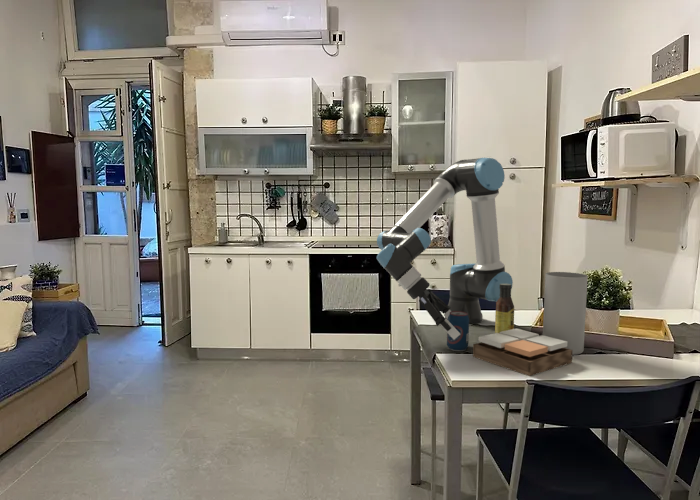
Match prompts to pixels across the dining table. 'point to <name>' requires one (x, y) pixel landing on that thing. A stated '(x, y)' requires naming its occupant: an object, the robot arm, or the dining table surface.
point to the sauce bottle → (504, 310)
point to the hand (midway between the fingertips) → (458, 331)
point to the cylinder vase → (565, 308)
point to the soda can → (462, 326)
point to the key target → (526, 348)
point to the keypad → (522, 359)
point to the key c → (548, 342)
